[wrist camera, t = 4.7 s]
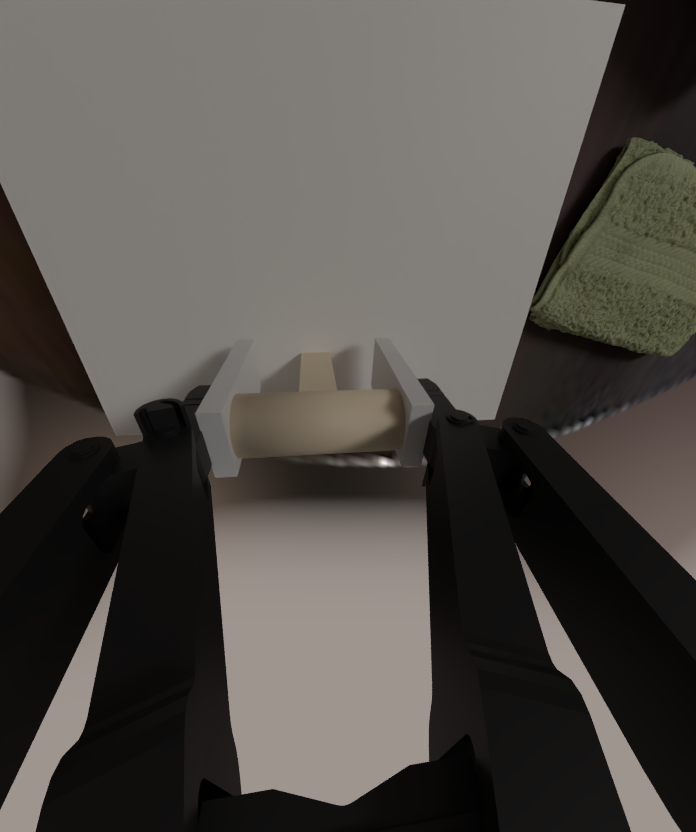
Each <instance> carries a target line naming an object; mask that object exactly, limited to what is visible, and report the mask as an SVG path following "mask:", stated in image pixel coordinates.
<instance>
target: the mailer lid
mask: <svg viewBox="0 0 696 832" xmlns="http://www.w3.org/2000/svg"><path fill="white" fill-rule="evenodd" d="M624 8H625V4H617V3H609V2H601V1H593V0H0V183H1V185H2V188H3V190H4V192H5V194H6V196H7V199H8V201H9V203H10V205H11V207H12V210H13V212H14V214H15V216H16V218H17V221H18V223H19V225H20V227H21V229H22V231H23V234H24V236H25V238H26V240H27V242H28V245H29V247H30V249H31V251H32V253H33V256H34V258H35V260H36V262H37V264H38V267H39V269H40V271H41V273H42V275H43V278H44V280H45V282H46V284H47V286H48V289H49V291H50V293H51V295H52V297H53V299H54V302H55V304H56V306H57V308H58V310H59V313H60V315H61V317H62V319H63V321H64V324H65V326H66V328H67V330H68V332H69V335H70V337H71V339H72V341H73V343H74V346H75V348H76V350H77V352H78V354H79V357H80V359H81V361H82V363H83V365H84V368H85V370H86V372H87V374H88V376H89V378H90V381H91V383H92V385H93V387H94V389H95V392H96V394H97V396H98V398H99V400H100V403H101V405H102V407H103V409H104V411H105V414H106V416H107V418H108V420H109V422H110V424H111V427H112V429H113V431H114V433H115V435H116V436H134V435H142V433H141V430H140V428H139V426H138V424H137V422H136V419H135V417H134V415H133V414H134V412H135V411H136V409H138V408H139V407H141V406H142V405H144V404H146V403H149V402H151V401H155V400H159V399H167V398H172V399H178V400H180V401H182V402H183V400H185V397H186V396H187V394H188V393H189V392H190V391H191V390H193V389H194V388H196V387H197V386H199V385H212V383H213V381H214V379H215V378H216V376H217V374H218V373H219V371H220V369H221V367H222V366H223V364H224V362H225V360H226V359H227V357H228V355H229V353H230V352H231V350H232V348H233V346H234V345H235V343H236V341H237V340H248V339H253V340H254V347H255V353H256V360H257V366H258V373H259V379H260V385H261V390H260V393H243V394H235V395H234V397H233V399H232V402H231V407H230V419H229V425H230V438H231V444H232V448H233V451H234V454H235V456H236V457H237V458H239V459H241V458H259V457H277V456H295V455H314V454H332V453H350V452H368V451H386V450H399V449H401V447H402V445H403V441H404V436H405V411H404V404H403V400H402V396H401V394H400V392H399V391H398V389H372V387H371V380H372V368H373V355H374V343H375V338H390V340H391V341H392V343H393V344H394V346H395V347H396V349H397V350H398V351H399V353H400V354H401V356H402V357H403V359H404V360H405V362H406V363H407V365H408V366H409V368H410V369H411V371H412V372H413V374H414V375H415V377H416V378H417V379H424V378H428V379H429V380H431V381H432V382H434V383H436V384H437V386H438V387H439V388H440V390H441V391H442V392H443V393H444V395H445V396H446V397H447V399H448V400H449V401H450V402H451V404H452V405H453V406H454V408H455V409H457V410H462V411H465V412H467V413H470V414H471V415H473V416H474V417H475V418H476V419H477V420H490V419H495V416H496V413H497V410H498V407H499V403H500V400H501V397H502V394H503V391H504V388H505V384H506V381H507V378H508V375H509V372H510V369H511V365H512V362H513V359H514V356H515V353H516V350H517V346H518V343H519V340H520V337H521V334H522V331H523V327H524V324H525V321H526V318H527V315H528V312H529V308H530V305H531V302H532V299H533V296H534V293H535V289H536V286H537V283H538V280H539V277H540V274H541V270H542V267H543V264H544V261H545V258H546V255H547V251H548V248H549V245H550V242H551V239H552V236H553V232H554V229H555V226H556V223H557V220H558V217H559V213H560V210H561V207H562V204H563V201H564V198H565V195H566V191H567V188H568V185H569V182H570V179H571V176H572V172H573V169H574V166H575V163H576V160H577V157H578V153H579V150H580V147H581V144H582V141H583V138H584V134H585V131H586V128H587V125H588V122H589V119H590V115H591V112H592V109H593V106H594V103H595V100H596V96H597V93H598V90H599V87H600V84H601V81H602V77H603V74H604V71H605V68H606V65H607V62H608V58H609V55H610V52H611V49H612V46H613V43H614V39H615V36H616V33H617V30H618V27H619V24H620V20H621V17H622V14H623V11H624Z"/></svg>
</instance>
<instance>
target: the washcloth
mask: <svg viewBox="0 0 696 832" xmlns="http://www.w3.org/2000/svg"><path fill="white" fill-rule="evenodd" d="M616 160H617V161H616V163H615V164H614V166H613V168H612V170H611V171H610V173H609V175H608V177H607V178H606V180H605V181H604V183H603V186H602V188H601V189H600V190H599V192H598V193H597V194H596V196H595V197H594V199H593V200H592V202H591V203H590V204H589V206H588V208H587V209H586V210H585V212H584V213H583V215H582V217H581V218H580V220H579V222H578V223H577V225H576V226H575V227H574V229H573V230H572V231H571V232H570V234H569V238H568V239H567V240H566V242H565V244H564V245H563V247H562V249H561V250H560V252H559V254H558V255H557V257H556V259H555V260H554V262H553V264H552V266H551V267H550V269H549V271H548V273H547V275H546V277H545V279H544V281H543V282H542V284H541V286H540V288H539V290H538V291H537V293H536V294H535V296H534V297H533V299H532V302H531V305H530V308H529V310H531V311H532V312H531V314H530V315H531V316H530V317H529V319H530V320H531V321H533V322H535V324H538V325H539V326H540V327H544V328H547V329H548V330H550V329H557V330H560V331H561V332H563V333H564V332H567V333H569V334H570V333H571V334H572V335H577V336H579V335H581V336H582V337H585V338H590V339H592V340H595V341H601V343H602V342H604V343H606V344H611V345H613V346H621V347H625V348H627V349H628V350H629V351H636V352H637V353H645V354H655V355H656V356H659V355H660V356H665V357H669V356H672V355H673V354H674V353H676V352H677V351H678V350H679V349H680V348H681V347H682V346H683V344H685V343H686V342H687V341H688V339H689V337H690V336H691V335H692V334H694V333H695V332H696V167H694V166H693V164H694V162H693V163H692V162H691V161H689V160H686V159H683V157H682V155H679V154H677V153H676V152H675V151H671V149H669V148H666V149H663V148H661V147H660V146H658V145H657V143H654V142H653V141H646V140H644V139H642V138H630V139H627V141H626V143H625V145H624V147H623V150H622V152H621V153H620V155H618V156H617V158H616Z"/></svg>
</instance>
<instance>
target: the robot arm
mask: <svg viewBox="0 0 696 832" xmlns="http://www.w3.org/2000/svg"><path fill="white" fill-rule="evenodd" d="M371 387H372V389H398V391H399V392H400V394H401V396H402V400H403V404H404V411H405V436H404V441H403V445H402V447H401V449H399V450H396V453H397V456H398V458H399V461H400V463H401V466H402V467H403V466H420V465H421V463H422V458H423V454H424V455H425V457H426V459H427V462H428V463H427V467H426V471H425V475H424V480H423V484H422V486H424V487H425V485H426V506H427V535H428V566H429V595H430V627H431V628H430V629H431V660H432V704H431V712H430V721H429V762H425V763H420V764H414V765H409V766H408V767H406V768H405V769H403V770H401V771H400V772H399V773H397V774H395V775H394V776H392V777H391V778H389V779H388V780H386V781H385V782H383V783H382V784H380V785H378V786H377V787H376V788H374V789H372V790H371V791H369V792H368V793H366V794H365V795H363V796H361V797H360V798H358V799H357V800H355V801H354V802H352V803H350V804H348V805H345V806H339V805H334V804H330V803H326V802H322V801H318V800H314V799H310V798H306V797H302V796H298V795H294V794H290V793H286V792H282V791H278V790H274V789H271V790H265V791H260V792H254V793H248V794H243V795H242V794H241V784H240V774H239V765H238V758H237V752H236V747H235V742H234V738H233V734H232V728H231V722H230V712H229V701H228V688H227V676H226V666H225V665H226V664H225V652H224V640H223V628H222V617H221V604H220V593H219V580H218V568H217V556H216V544H215V532H214V519H213V507H212V496H211V485H210V482H209V479H208V474H209V471H210V469H211V467H212V470H213V473H214V476H215V478H219V477H237V475H238V471H239V467H240V464H241V460H242V458H241V459H239V458H237V457H236V456H235V454H234V451H233V448H232V444H231V438H230V425H229V419H230V407H231V402H232V399H233V397H234V395H235V394H243V393H260V390H261V385H260V379H259V373H258V366H257V360H256V353H255V347H254V340H253V339H248V340H237V341H236V343H235V345H234V346H233V348H232V350H231V352H230V353H229V355H228V357H227V359H226V360H225V362H224V364H223V366H222V367H221V369H220V371H219V373H218V374H217V376H216V378H215V379H214V381H213V383H212V385H199V386H197V387H196V388H194V389H193V390H191V391H190V392H189V393H188V394H187V396H186V397H185V400H183V402H182V401H180V400H178V399H172V398H167V399H159V400H155V401H151V402H149V403H146V404H144V405H142V406H141V407H139V408H138V409H136V411H135V412H134V414H133V415H134V417H135V419H136V422H137V424H138V426H139V428H140V430H141V433H142V435H143V441H142V442H138V443H135V444H130V445H126V446H121V447H117V448H115V446H114V444H113V442H112V440H111V439H109V438H106V437H92V438H85V439H82V440H79V441H76V442H74V443H73V444H71V445H69V446H67V447H65V448H64V449H63V450H61V451H60V452H59V453H58V454H57V455H56V456H55V457H54V458H53V459H52V460H51V461H50V462H49V463H48V464H47V465H46V466H45V467H44V468H43V469H42V470H41V472H40V473H39V474H38V475H37V476H36V477H35V478H34V479H33V480H32V481H31V482H30V483H29V484H28V485H27V486H26V487H25V488H24V489H23V490H22V492H21V493H20V494H19V495H18V496H17V497H16V498H15V499H14V500H13V501H12V502H11V503H10V504H9V505H8V506H7V507H6V508H5V509H4V510H3V511H2V512H1V514H0V809H1V807H2V805H3V803H4V801H5V798H6V796H7V794H8V792H9V790H10V788H11V786H12V784H13V782H14V780H15V778H16V775H17V773H18V771H19V769H20V767H21V765H22V763H23V761H24V758H25V757H26V754H27V752H28V750H29V748H30V746H31V744H32V742H33V740H34V738H35V736H36V733H37V731H38V729H39V727H40V725H41V723H42V721H43V718H44V717H45V715H46V712H47V710H48V708H49V706H50V704H51V702H52V700H53V698H54V696H55V694H56V692H57V689H58V687H59V685H60V683H61V681H62V679H63V677H64V675H65V673H66V671H67V668H68V666H69V664H70V662H71V660H72V658H73V656H74V654H75V652H76V650H77V647H78V645H79V643H80V641H81V639H82V637H83V635H84V633H85V630H86V629H87V627H88V624H89V622H90V620H91V618H92V616H93V614H94V612H95V610H96V608H97V606H98V604H99V601H100V599H101V597H102V595H103V593H104V591H105V589H106V587H107V585H108V582H109V580H110V578H111V576H112V574H113V572H114V570H115V568H116V566H117V564H118V567H117V572H116V577H115V582H114V588H113V592H112V597H111V602H110V607H109V612H108V617H107V623H106V627H105V632H104V637H103V642H102V647H101V652H100V657H99V662H98V667H97V672H96V677H95V682H94V687H93V692H92V697H91V702H90V707H89V712H88V717H87V721H86V724H85V727H84V730H83V732H82V734H81V736H80V738H79V740H78V741H77V742H76V743H75V744H74V745H73V746H72V747H71V748H70V749H69V750H68V751H67V752H66V753H65V755H64V756H63V757H62V758H61V760H60V762H59V764H58V766H57V768H56V769H55V771H54V773H53V775H52V777H51V780H50V783H49V786H48V789H47V792H46V796H45V798H44V802H43V805H42V808H41V812H40V816H39V820H38V824H37V828H36V832H631V831H630V827H629V825H628V822H627V819H626V816H625V813H624V810H623V807H622V804H621V802H620V799H619V797H618V793H617V790H616V787H615V784H614V782H613V779H612V776H611V773H610V770H609V767H608V764H607V762H606V759H605V756H604V753H603V750H602V747H601V744H600V742H599V739H598V736H597V733H596V730H595V727H594V724H593V722H592V719H591V716H590V713H589V711H588V709H587V707H586V704H585V702H584V700H583V697H582V695H581V693H580V692H579V690H578V689H577V688H576V686H575V685H574V683H573V682H572V680H571V679H569V678H568V677H567V676H565V675H564V674H562V673H561V672H560V671H558V670H557V669H556V667H555V666H554V664H553V663H552V661H551V658H550V656H549V653H548V650H547V647H546V643H545V640H544V637H543V634H542V630H541V627H540V624H539V621H538V617H537V614H536V611H535V607H534V604H533V601H532V597H531V594H530V591H529V587H528V584H527V581H526V578H525V574H524V571H523V568H522V564H521V561H520V558H519V555H518V551H517V548H516V545H517V547H518V549H519V551H520V552H521V554H522V556H523V558H524V559H525V561H526V563H527V565H528V566H529V568H530V570H531V572H532V574H533V575H534V577H535V579H536V580H537V582H538V584H539V586H540V588H541V589H542V591H543V593H544V595H545V596H546V598H547V600H548V602H549V604H550V605H551V607H552V609H553V611H554V612H555V614H556V616H557V618H558V620H559V621H560V623H561V625H562V627H563V628H564V630H565V632H566V633H567V635H568V637H569V639H570V641H571V643H572V644H573V646H574V648H575V650H576V651H577V653H578V655H579V657H580V658H581V660H582V662H583V664H584V665H585V667H586V669H587V671H588V672H589V674H590V676H591V678H592V680H593V681H594V683H595V685H596V687H597V689H598V690H599V692H600V694H601V696H602V697H603V699H604V701H605V703H606V704H607V706H608V708H609V710H610V711H611V713H612V715H613V717H614V719H615V720H616V722H617V724H618V726H619V727H620V729H621V731H622V733H623V735H624V736H625V738H626V740H627V742H628V743H629V745H630V747H631V749H632V750H633V752H634V754H635V756H636V757H637V759H638V761H639V763H640V765H641V766H642V768H643V770H644V772H645V773H646V775H647V776H648V778H649V780H650V781H651V783H652V785H653V787H654V788H655V790H656V792H657V793H658V795H659V797H660V798H661V800H662V801H663V803H664V805H665V807H666V808H667V810H668V812H669V813H670V815H671V816H672V818H673V820H674V821H675V823H676V824H677V825H678V827H679V828H680V830H681V831H682V832H696V580H695V579H694V578H693V577H692V576H691V575H690V574H689V573H688V572H687V571H686V570H685V569H684V568H683V567H682V566H681V565H680V564H679V563H678V562H677V561H676V560H675V559H674V558H673V557H672V556H671V555H670V554H669V553H668V552H667V551H666V550H665V549H664V548H663V547H662V546H661V545H660V544H659V543H658V542H657V541H656V540H655V539H654V538H653V537H652V536H650V534H649V533H648V532H647V531H646V530H645V529H644V528H643V527H641V525H640V524H639V523H637V521H635V519H634V518H633V517H632V516H631V515H629V514H628V512H627V511H626V510H625V509H624V508H623V507H622V506H621V505H620V504H618V503H617V502H616V501H615V500H614V499H613V498H612V497H611V496H610V495H609V494H608V493H607V492H606V491H605V490H604V489H603V488H602V487H601V486H600V485H599V484H598V483H597V482H596V481H595V480H594V479H593V478H592V477H591V476H590V475H589V474H588V473H587V472H586V471H585V470H584V469H583V468H582V467H581V466H580V465H579V464H578V463H577V462H576V461H575V460H574V459H573V458H572V457H571V456H570V455H569V454H568V453H567V452H566V451H565V450H564V449H563V448H562V447H561V446H560V445H559V444H558V443H557V442H556V441H555V440H554V439H553V438H552V437H551V436H550V435H549V434H548V433H547V432H546V431H545V430H544V429H543V428H542V427H540V426H539V425H538V424H536V423H534V422H532V421H530V420H527V419H524V418H507V419H506V420H504V421H503V423H502V426H501V428H494V427H487V426H482V425H479V423H478V421H477V419H476V418H475V417H474V416H473V415H471V414H470V413H467V412H465V411H462V410H457V409H455V408H454V406H453V405H452V404H451V402H450V401H449V400H448V399H447V397H446V396H445V395H444V393H443V392H442V391H441V390H440V388H439V387H438V386H437V384H436V383H434V382H432V381H431V380H429V379H428V378H424V379H417V378H416V377H415V375H414V374H413V372H412V371H411V369H410V368H409V366H408V365H407V363H406V362H405V360H404V359H403V357H402V356H401V354H400V353H399V351H398V350H397V349H396V347H395V346H394V344H393V343H392V341H391V340H390V338H375V343H374V355H373V368H372V380H371ZM526 476H527V477H528V478H529V480H530V482H531V485H530V486H528V484H527V483H526V482H525V480H524V479H525V477H526ZM86 508H87V509H88V512H87V514H86V515H85V517H84V518H83V514H84V512H85V509H86ZM82 518H83V519H82ZM515 543H516V545H515Z"/></svg>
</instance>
